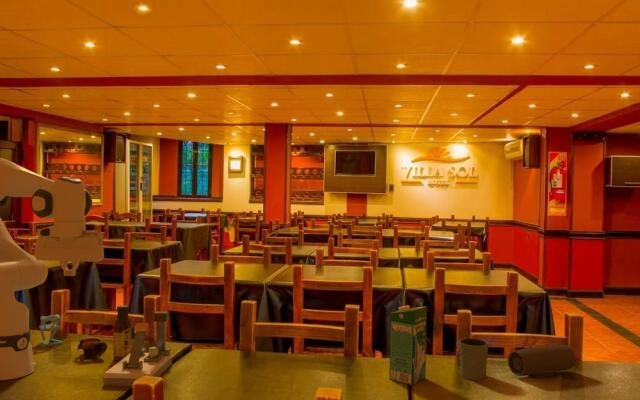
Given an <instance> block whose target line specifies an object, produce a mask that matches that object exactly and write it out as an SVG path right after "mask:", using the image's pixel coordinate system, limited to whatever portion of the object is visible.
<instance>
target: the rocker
mask: <svg viewBox="0 0 640 400" xmlns="http://www.w3.org/2000/svg"><path fill="white" fill-rule="evenodd" d="M131 350H132V347H131ZM131 350H130V353H131ZM146 350H147V348H145V347H142V351H141V355H143V354H144V353H146Z"/></svg>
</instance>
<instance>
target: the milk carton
mask: <svg viewBox="0 0 640 400" xmlns="http://www.w3.org/2000/svg"><path fill="white" fill-rule="evenodd" d="M427 308H428V306H417V307H410V305H403V306H399V307H397V309H398V310H396V311H393V312H390V314H389V315H390V316H389V317H390V318H389V319H390V320H389V321H390V322H389V323H390V324H389V326H390V327H389V378H388V379H389V380H390V381H395V382H397V383H398V382H399V383H402V384H406V385H408V386H409V385H410V386H414V385H416V384H417V383H419V382H421V381H423V380H425V379H426V377H427V376H426V375H427V374H426V373H427V372H426V369H427V368H426V366H427V365H426V364H427V320H428V319H427V315H428V309H427Z"/></svg>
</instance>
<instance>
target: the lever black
mask: <svg viewBox="0 0 640 400" xmlns="http://www.w3.org/2000/svg"><path fill="white" fill-rule="evenodd" d="M169 313H170V312H169V311H157V310H156V311H155V312H154V313H153V322H156V344H155V345H156V346H155V347H158V354H163V355H167V322H169V318H170V317H169Z"/></svg>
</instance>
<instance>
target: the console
mask: <svg viewBox="0 0 640 400" xmlns="http://www.w3.org/2000/svg"><path fill="white" fill-rule="evenodd" d="M166 350H167V355H163V354H158V357H157V358H149V352H145V353H144V354H143V355H140V359H139V368H138V369H136V368H126V363H128V362H129V358H130V354H131V353H130V354H129V355H127V356H126V357H125V358H123V359H122V360H121V361H117V363H116V364H114V365H113V366H112V367H110V368H109V369H108V370H106V371H105V372H104V377H103V386H118V387H120V386H121V387H133V386H132V384H133V382H134V381H135V380H136V379H138V378H140V377H142V376H146V375H148V376H157V377H158V378H160V376H162V374H164V373H165V372H166V370H168V368H170V367H171V365H172V363H173V362H172V353H171V348H170V347H169V348H166Z"/></svg>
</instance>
